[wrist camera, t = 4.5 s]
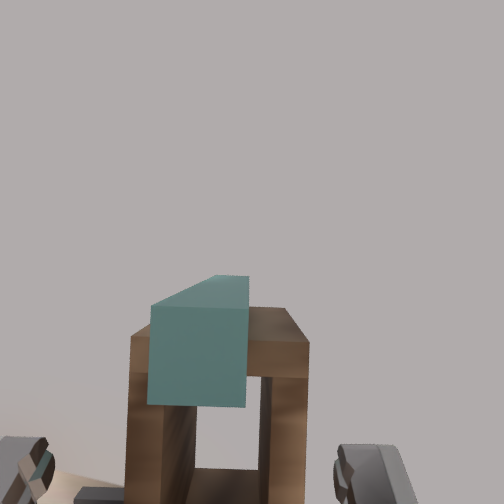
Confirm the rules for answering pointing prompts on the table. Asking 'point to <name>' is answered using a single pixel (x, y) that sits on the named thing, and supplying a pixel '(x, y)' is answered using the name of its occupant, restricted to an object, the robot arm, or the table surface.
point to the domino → (100, 495)
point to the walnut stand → (184, 420)
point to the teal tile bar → (200, 345)
